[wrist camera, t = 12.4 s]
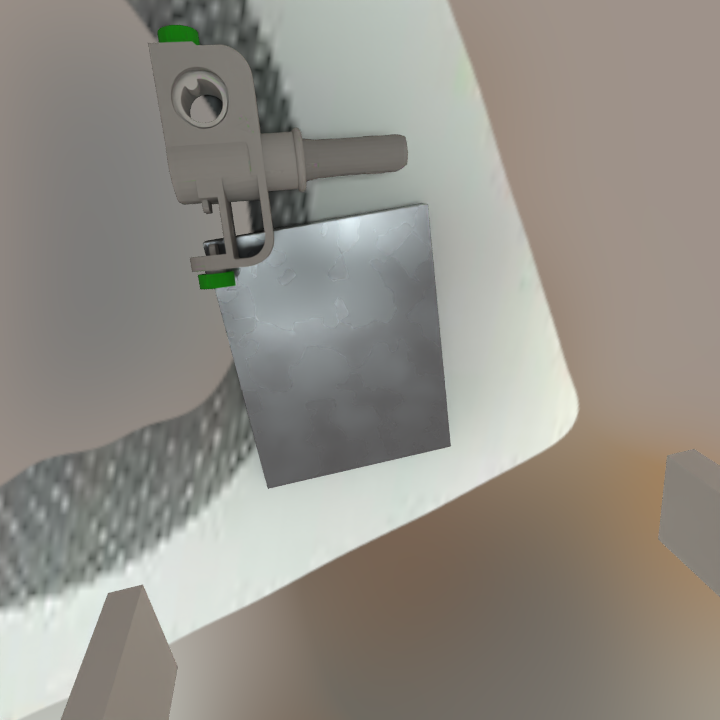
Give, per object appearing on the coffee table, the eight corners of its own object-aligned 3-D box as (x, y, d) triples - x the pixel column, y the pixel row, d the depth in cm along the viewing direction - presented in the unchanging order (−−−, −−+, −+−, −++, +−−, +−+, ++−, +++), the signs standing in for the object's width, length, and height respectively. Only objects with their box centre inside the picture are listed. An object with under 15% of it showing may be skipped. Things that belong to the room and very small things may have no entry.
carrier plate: (205, 240, 24) (202, 243, 23) (421, 203, 25) (427, 204, 24) (268, 478, 29) (267, 488, 28) (445, 438, 30) (450, 446, 29)
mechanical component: (403, 266, 25) (200, 287, 24) (387, 39, 23) (160, 49, 21) (419, 267, 22) (189, 292, 21) (402, 8, 20) (142, 17, 18)
